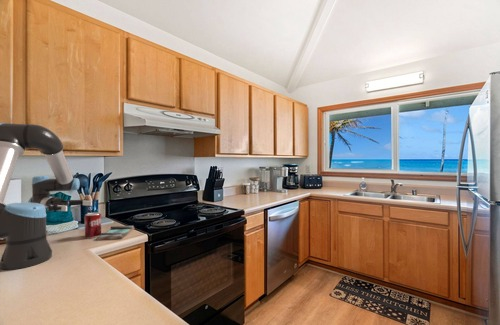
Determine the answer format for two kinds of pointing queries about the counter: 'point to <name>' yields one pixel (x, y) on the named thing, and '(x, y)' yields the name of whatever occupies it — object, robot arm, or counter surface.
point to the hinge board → (115, 233)
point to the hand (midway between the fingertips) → (79, 205)
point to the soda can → (92, 225)
